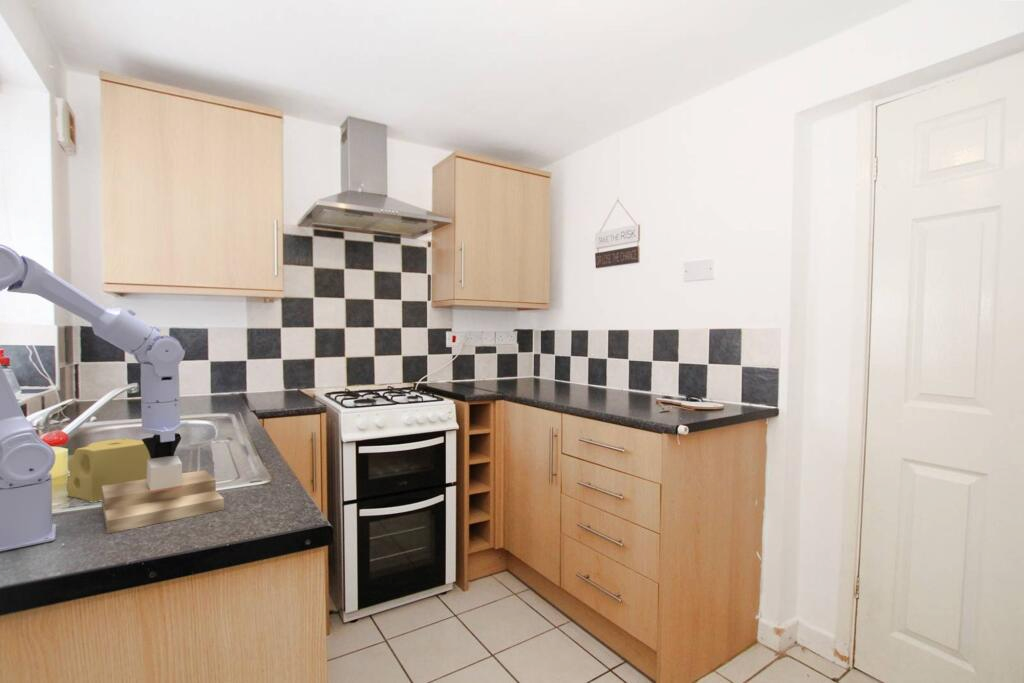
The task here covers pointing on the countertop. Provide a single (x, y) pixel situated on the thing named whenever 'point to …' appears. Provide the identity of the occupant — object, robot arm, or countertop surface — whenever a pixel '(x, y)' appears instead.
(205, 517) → the countertop surface
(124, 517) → the step
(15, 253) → the robot arm
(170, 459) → the white cube
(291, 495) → the countertop surface
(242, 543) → the countertop surface
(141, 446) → the cheese
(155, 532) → the countertop surface
